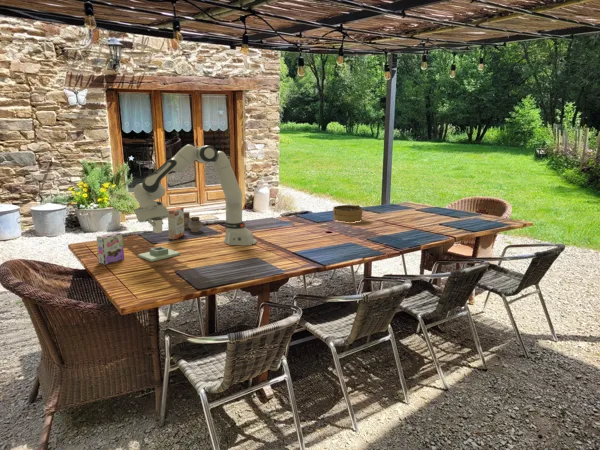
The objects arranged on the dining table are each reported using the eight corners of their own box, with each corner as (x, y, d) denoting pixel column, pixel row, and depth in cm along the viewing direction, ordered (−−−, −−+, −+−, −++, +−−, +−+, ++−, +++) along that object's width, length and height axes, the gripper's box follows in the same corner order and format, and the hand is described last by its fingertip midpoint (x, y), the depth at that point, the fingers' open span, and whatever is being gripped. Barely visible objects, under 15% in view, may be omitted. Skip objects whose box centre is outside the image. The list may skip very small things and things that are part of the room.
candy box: (104, 265, 270) (102, 237, 267) (98, 263, 273) (95, 236, 270) (124, 259, 282) (122, 232, 278) (118, 257, 285) (116, 231, 281)
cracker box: (176, 239, 328) (175, 210, 323) (168, 239, 329) (166, 210, 324) (185, 235, 341) (183, 207, 337) (177, 234, 343) (176, 206, 338)
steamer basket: (331, 222, 389) (331, 209, 387) (334, 217, 413) (334, 204, 411) (361, 224, 385) (362, 211, 383) (362, 218, 409) (363, 206, 407)
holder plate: (166, 250, 302) (166, 243, 301) (180, 254, 292) (179, 247, 291) (138, 256, 287) (137, 249, 286) (151, 261, 278) (151, 254, 277)
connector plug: (158, 231, 289) (158, 217, 287) (162, 232, 287) (161, 218, 285) (153, 232, 286) (152, 217, 284) (156, 233, 284) (156, 218, 282)
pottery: (190, 225, 372) (189, 211, 369) (206, 231, 353) (205, 216, 351) (177, 227, 365) (176, 212, 362) (192, 233, 346) (191, 218, 344)
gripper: (134, 205, 280) (144, 224, 276) (164, 202, 295) (174, 219, 291) (131, 212, 284) (140, 230, 279) (161, 208, 299) (170, 225, 294)
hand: (158, 224), depth 285 cm, fingers closed on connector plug, 4 cm apart
